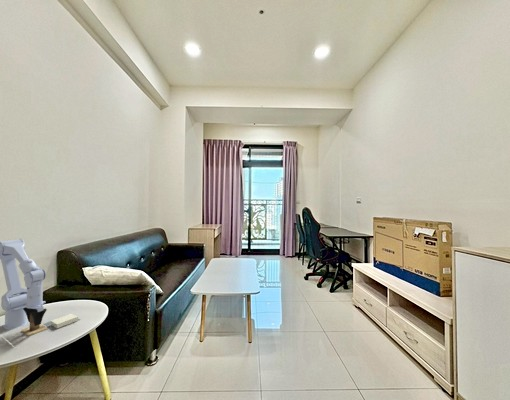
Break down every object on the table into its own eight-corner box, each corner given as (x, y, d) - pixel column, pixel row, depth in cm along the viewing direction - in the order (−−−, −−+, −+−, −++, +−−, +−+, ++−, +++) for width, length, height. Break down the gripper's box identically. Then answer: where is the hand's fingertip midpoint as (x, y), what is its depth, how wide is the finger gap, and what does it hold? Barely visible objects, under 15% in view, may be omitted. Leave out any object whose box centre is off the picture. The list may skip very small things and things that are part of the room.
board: (21, 331, 116) (21, 329, 116) (39, 325, 122) (39, 323, 122) (28, 337, 111) (28, 334, 111) (47, 330, 117) (47, 328, 117)
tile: (50, 320, 121) (57, 324, 118) (71, 313, 129) (77, 316, 126) (50, 325, 121) (56, 328, 118) (71, 317, 129) (77, 321, 126)
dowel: (28, 329, 116) (28, 315, 116) (37, 326, 119) (37, 312, 119) (31, 331, 114) (31, 316, 114) (40, 328, 117) (41, 313, 118)
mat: (42, 324, 123) (42, 324, 123) (70, 315, 133) (70, 314, 133) (53, 331, 117) (53, 330, 117) (80, 320, 127) (80, 319, 127)
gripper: (51, 295, 117) (51, 323, 117) (39, 289, 124) (39, 316, 124) (32, 300, 111) (32, 329, 110) (20, 294, 118) (20, 321, 118)
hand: (34, 322), depth 117 cm, fingers open, 7 cm apart
